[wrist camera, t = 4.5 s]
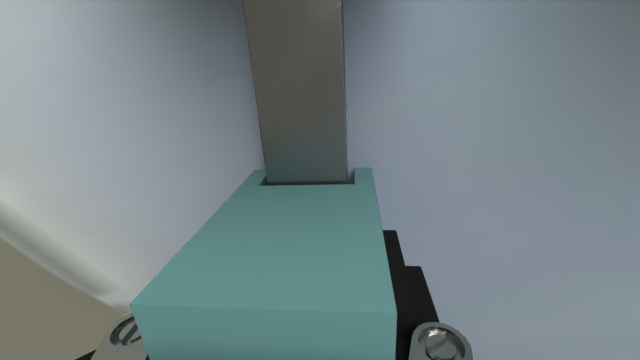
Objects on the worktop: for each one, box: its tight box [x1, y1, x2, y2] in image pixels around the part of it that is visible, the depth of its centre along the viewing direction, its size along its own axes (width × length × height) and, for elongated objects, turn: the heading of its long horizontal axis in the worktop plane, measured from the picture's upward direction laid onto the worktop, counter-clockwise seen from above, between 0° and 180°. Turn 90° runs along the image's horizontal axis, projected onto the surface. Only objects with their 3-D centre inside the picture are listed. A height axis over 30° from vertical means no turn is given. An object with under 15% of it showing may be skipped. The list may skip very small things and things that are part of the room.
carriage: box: [130, 168, 397, 360], centre depth 10 cm, size 5×6×8 cm
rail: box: [243, 0, 348, 186], centre depth 13 cm, size 3×22×2 cm, turn 3°
